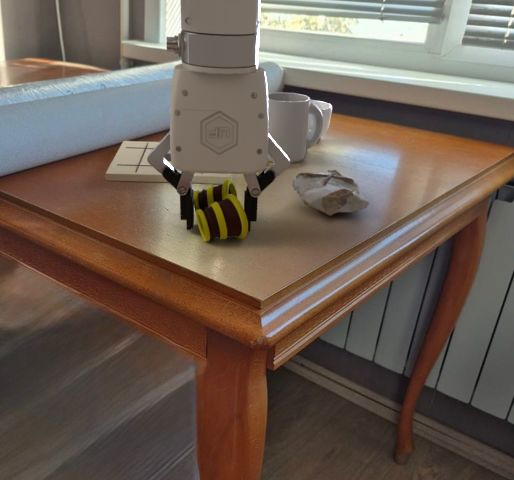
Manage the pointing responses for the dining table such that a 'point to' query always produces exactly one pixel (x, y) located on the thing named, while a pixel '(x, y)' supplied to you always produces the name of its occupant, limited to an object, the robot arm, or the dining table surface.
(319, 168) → the dining table surface
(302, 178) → the stone
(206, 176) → the board
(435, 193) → the dining table surface
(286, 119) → the cup
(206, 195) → the opera glasses
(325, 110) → the teacup
